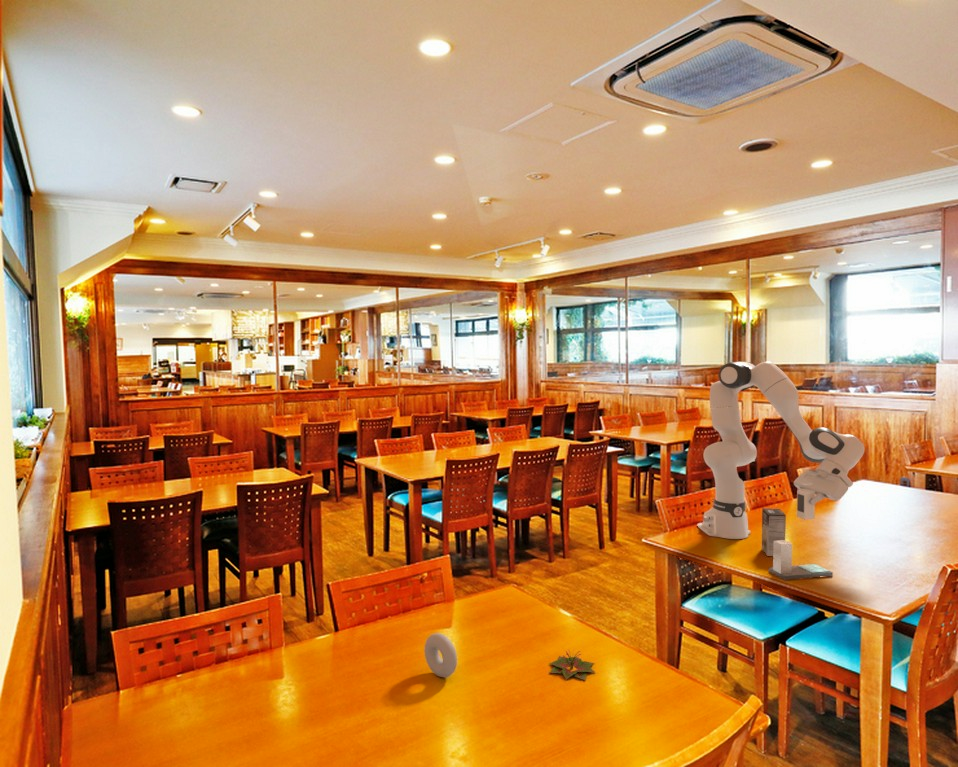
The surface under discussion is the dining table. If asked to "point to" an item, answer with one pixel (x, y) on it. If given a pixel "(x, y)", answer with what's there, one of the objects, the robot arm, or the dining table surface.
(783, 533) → the coffee box
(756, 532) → the dining table surface
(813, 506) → the white box
